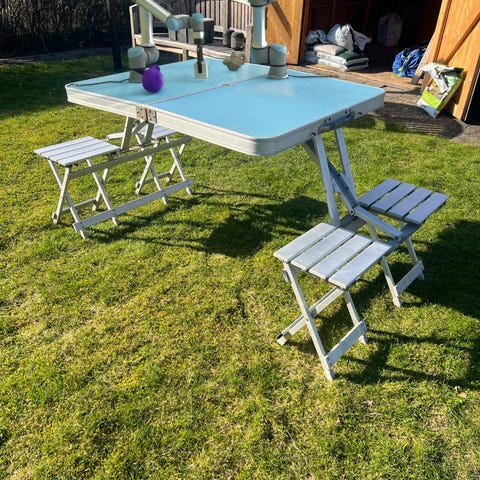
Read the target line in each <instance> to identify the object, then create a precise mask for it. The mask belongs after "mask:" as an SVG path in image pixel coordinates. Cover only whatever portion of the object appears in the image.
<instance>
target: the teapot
mask: <svg viewBox="0 0 480 480" xmlns="http://www.w3.org/2000/svg"><path fill="white" fill-rule="evenodd" d="M241 58H242V60H241ZM246 62H247V56H246V54H245V53H244V52H241V53H239V54H238V55H237V53H236V52H235V50H233V51H231V54H230V57H225V58H224V59H222V65H224V66H226V68H227V69H228V71H230V72H237V71H238V70H239V69H241V68H242V66H243V65H245V64H246Z"/></svg>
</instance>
